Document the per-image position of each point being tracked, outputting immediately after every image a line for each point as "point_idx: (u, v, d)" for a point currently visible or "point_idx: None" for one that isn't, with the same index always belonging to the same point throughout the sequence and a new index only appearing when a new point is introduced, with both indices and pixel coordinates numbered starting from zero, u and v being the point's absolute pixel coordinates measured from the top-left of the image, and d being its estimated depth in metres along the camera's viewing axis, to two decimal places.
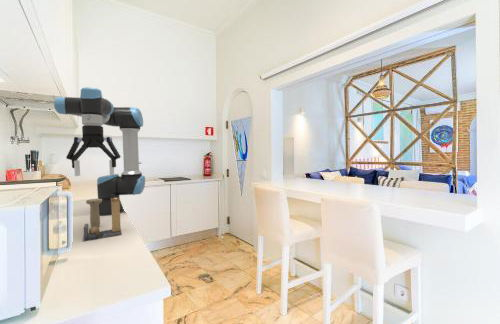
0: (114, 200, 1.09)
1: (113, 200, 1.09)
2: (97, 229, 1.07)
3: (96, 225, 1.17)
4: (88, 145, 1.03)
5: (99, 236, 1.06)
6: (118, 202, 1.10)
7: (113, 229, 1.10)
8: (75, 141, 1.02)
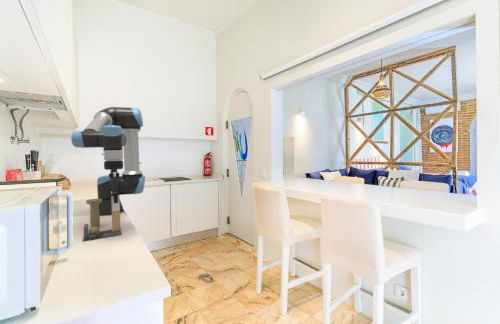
0: None
1: None
2: (97, 229, 1.07)
3: (96, 225, 1.17)
4: (111, 178, 1.11)
5: (99, 236, 1.06)
6: None
7: (113, 229, 1.10)
8: None
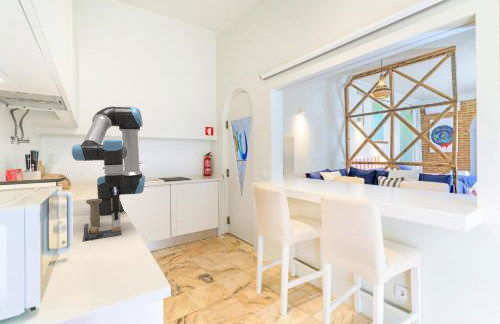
0: None
1: None
2: (97, 229, 1.07)
3: (96, 225, 1.17)
4: None
5: (99, 236, 1.06)
6: None
7: (113, 229, 1.10)
8: None
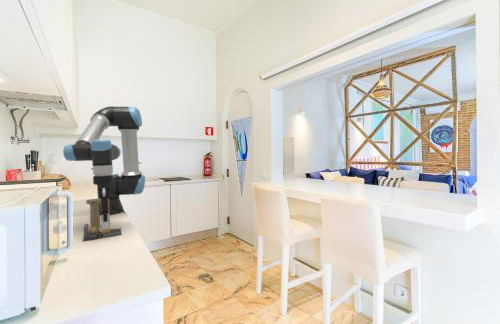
0: None
1: None
2: (97, 229, 1.07)
3: (96, 225, 1.17)
4: None
5: (99, 236, 1.06)
6: None
7: (102, 231, 1.08)
8: None
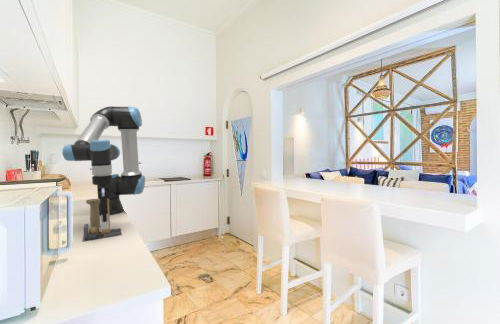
0: None
1: None
2: (97, 229, 1.07)
3: (96, 225, 1.17)
4: None
5: (99, 236, 1.06)
6: (107, 203, 1.08)
7: (102, 231, 1.08)
8: None
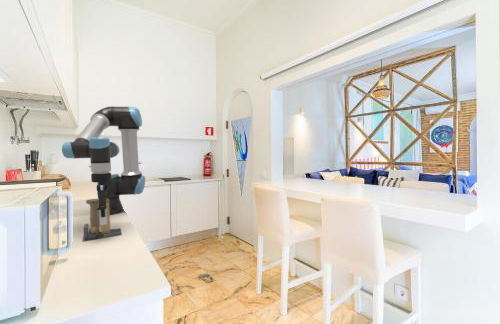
0: None
1: None
2: (97, 229, 1.07)
3: (96, 225, 1.17)
4: None
5: (99, 236, 1.06)
6: (107, 203, 1.08)
7: (102, 231, 1.08)
8: None
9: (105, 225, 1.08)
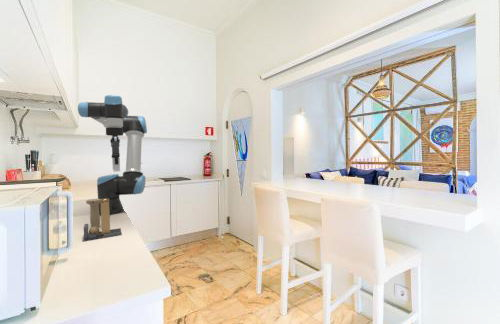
0: (103, 201, 1.07)
1: (102, 201, 1.07)
2: (97, 229, 1.07)
3: (96, 225, 1.17)
4: None
5: (99, 236, 1.06)
6: (107, 203, 1.08)
7: (102, 231, 1.08)
8: None
9: (105, 225, 1.08)
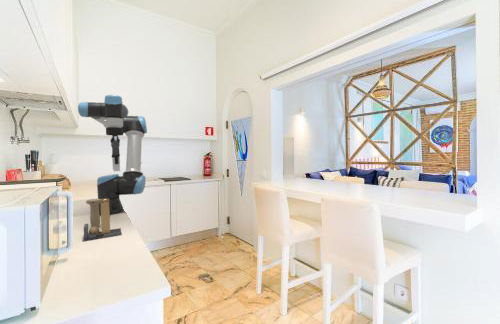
0: (103, 201, 1.07)
1: (102, 201, 1.07)
2: (97, 229, 1.07)
3: (96, 225, 1.17)
4: (112, 144, 1.22)
5: (99, 236, 1.06)
6: (107, 203, 1.08)
7: (102, 231, 1.08)
8: None
9: (105, 225, 1.08)
